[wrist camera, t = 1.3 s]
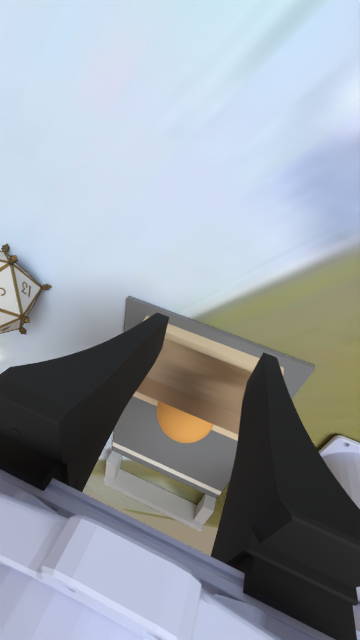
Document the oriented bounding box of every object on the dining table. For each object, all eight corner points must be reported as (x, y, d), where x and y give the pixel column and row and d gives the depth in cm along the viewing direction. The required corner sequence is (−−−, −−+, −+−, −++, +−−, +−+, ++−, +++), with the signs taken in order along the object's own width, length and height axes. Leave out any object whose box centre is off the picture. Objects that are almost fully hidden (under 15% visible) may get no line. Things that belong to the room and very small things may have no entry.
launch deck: (314, 365, 21) (316, 388, 19) (204, 513, 42) (199, 531, 40) (129, 296, 23) (114, 310, 21) (111, 468, 44) (103, 484, 42)
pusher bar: (269, 379, 21) (265, 425, 17) (259, 395, 22) (253, 441, 19) (149, 332, 22) (124, 367, 19) (146, 350, 23) (122, 385, 20)
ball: (229, 382, 23) (216, 432, 19) (213, 414, 26) (199, 464, 22) (174, 360, 24) (151, 404, 20) (165, 394, 27) (143, 439, 23)
